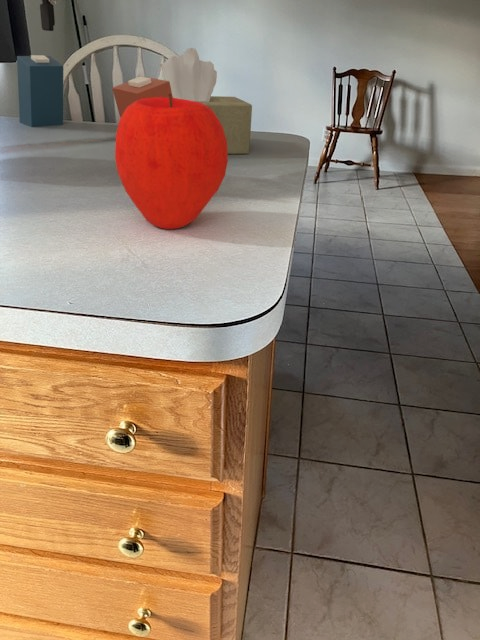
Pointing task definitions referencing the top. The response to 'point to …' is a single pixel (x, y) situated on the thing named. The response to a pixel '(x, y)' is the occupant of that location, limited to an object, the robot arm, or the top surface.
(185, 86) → the tissue box
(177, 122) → the apple
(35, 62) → the tissue pack back
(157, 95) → the tissue pack front
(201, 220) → the top surface
